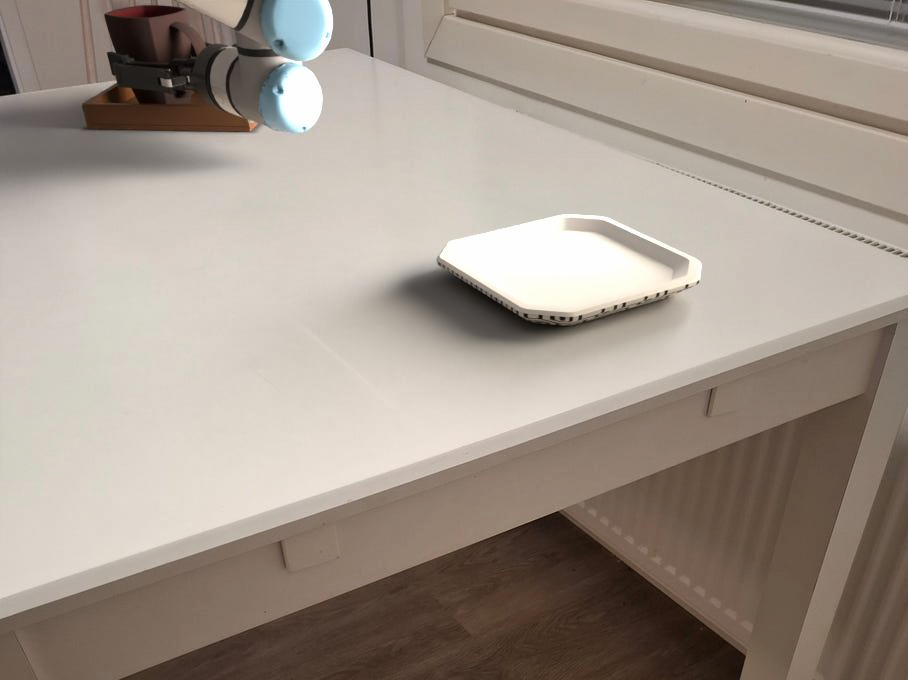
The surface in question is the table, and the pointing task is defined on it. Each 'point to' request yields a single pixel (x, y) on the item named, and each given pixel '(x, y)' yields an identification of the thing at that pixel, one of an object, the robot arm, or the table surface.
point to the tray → (157, 114)
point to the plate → (570, 268)
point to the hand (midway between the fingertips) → (153, 56)
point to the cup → (154, 42)
